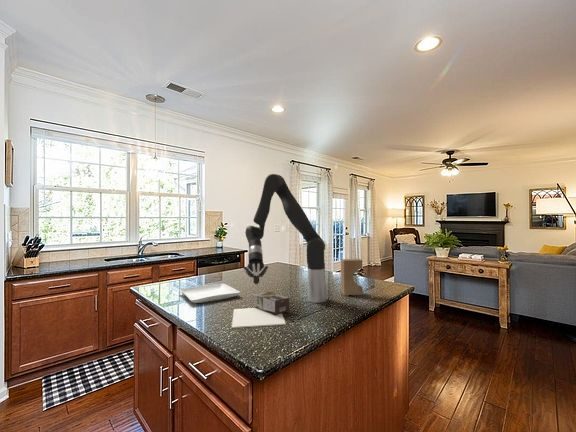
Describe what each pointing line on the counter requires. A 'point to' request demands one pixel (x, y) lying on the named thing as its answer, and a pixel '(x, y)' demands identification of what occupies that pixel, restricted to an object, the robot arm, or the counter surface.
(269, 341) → the counter surface
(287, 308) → the coffee box
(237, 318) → the mat
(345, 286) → the decorative block
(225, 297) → the square plate
